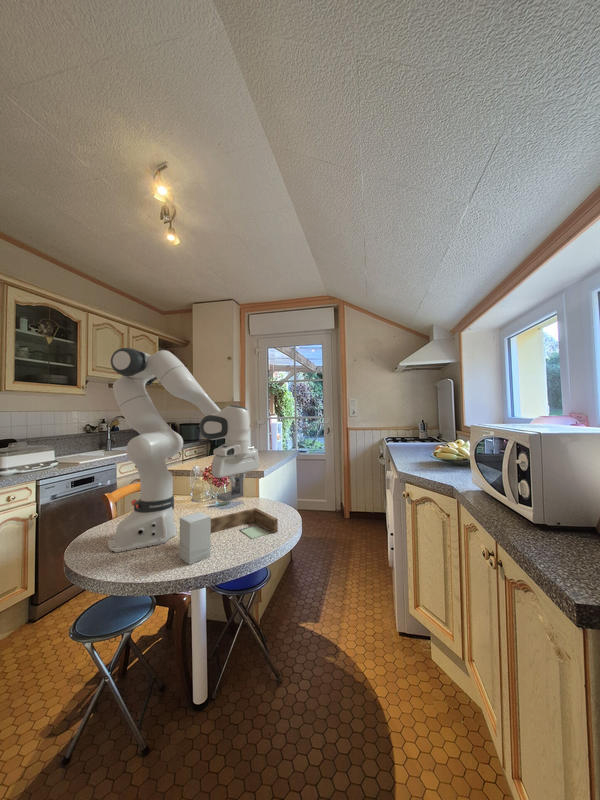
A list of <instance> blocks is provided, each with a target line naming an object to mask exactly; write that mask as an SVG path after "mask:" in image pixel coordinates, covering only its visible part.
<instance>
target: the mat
mask: <svg viewBox="0 0 600 800" xmlns="http://www.w3.org/2000/svg"><path fill="white" fill-rule="evenodd" d="M239 531H240V532H241V533H243V534H244V535H246V536H247V537H248V538H250V540H251V539H252V540H253V539H257V538H260V537H263V536H266V535H269V532H268V531H266V530H264V529H263V528H261V527H260V526H257V525H256V524H254V525H251V526H247V527H244V528H239Z"/></svg>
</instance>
